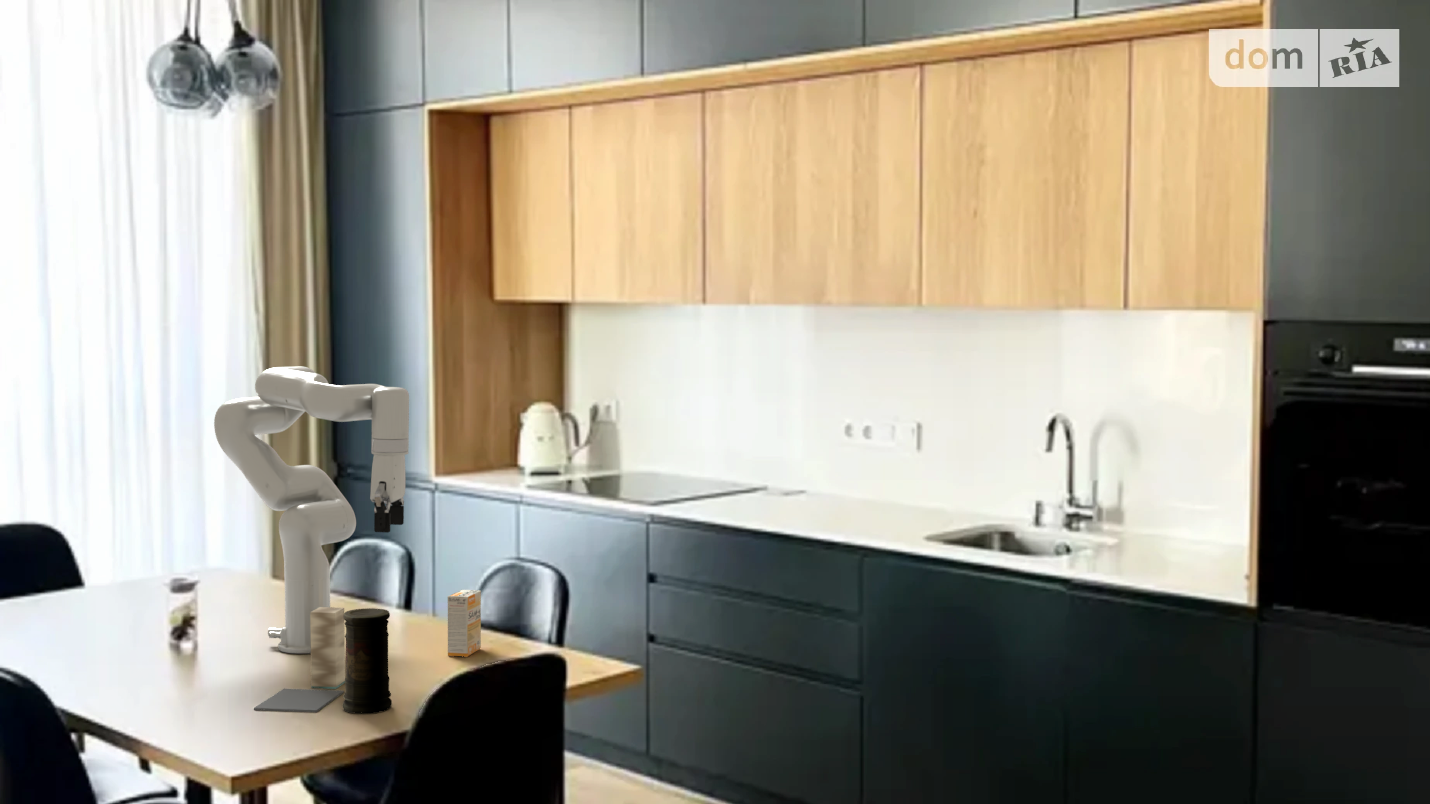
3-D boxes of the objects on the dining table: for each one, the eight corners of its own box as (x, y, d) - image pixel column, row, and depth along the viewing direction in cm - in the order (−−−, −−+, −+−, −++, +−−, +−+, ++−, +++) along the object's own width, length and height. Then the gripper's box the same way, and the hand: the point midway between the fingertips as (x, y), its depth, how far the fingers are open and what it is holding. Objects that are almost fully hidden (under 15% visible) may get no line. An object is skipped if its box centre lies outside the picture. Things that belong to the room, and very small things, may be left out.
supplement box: (468, 657, 314) (468, 596, 314) (447, 656, 315) (446, 595, 315) (482, 649, 322) (481, 589, 322) (461, 647, 323) (460, 588, 323)
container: (346, 701, 279) (345, 607, 278) (394, 701, 280) (394, 607, 279) (338, 715, 270) (337, 617, 269) (388, 714, 271) (387, 617, 270)
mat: (253, 710, 273) (253, 707, 273) (284, 690, 287) (283, 688, 287) (316, 712, 272) (316, 710, 272) (343, 692, 286) (343, 690, 286)
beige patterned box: (311, 688, 289) (310, 612, 288) (320, 681, 294) (319, 607, 293) (336, 688, 288) (335, 612, 288) (345, 682, 293) (344, 607, 292)
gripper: (384, 441, 316) (383, 521, 317) (359, 450, 299) (358, 534, 300) (419, 442, 316) (418, 522, 317) (395, 451, 298) (395, 535, 300)
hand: (389, 528), depth 309 cm, fingers open, 9 cm apart
